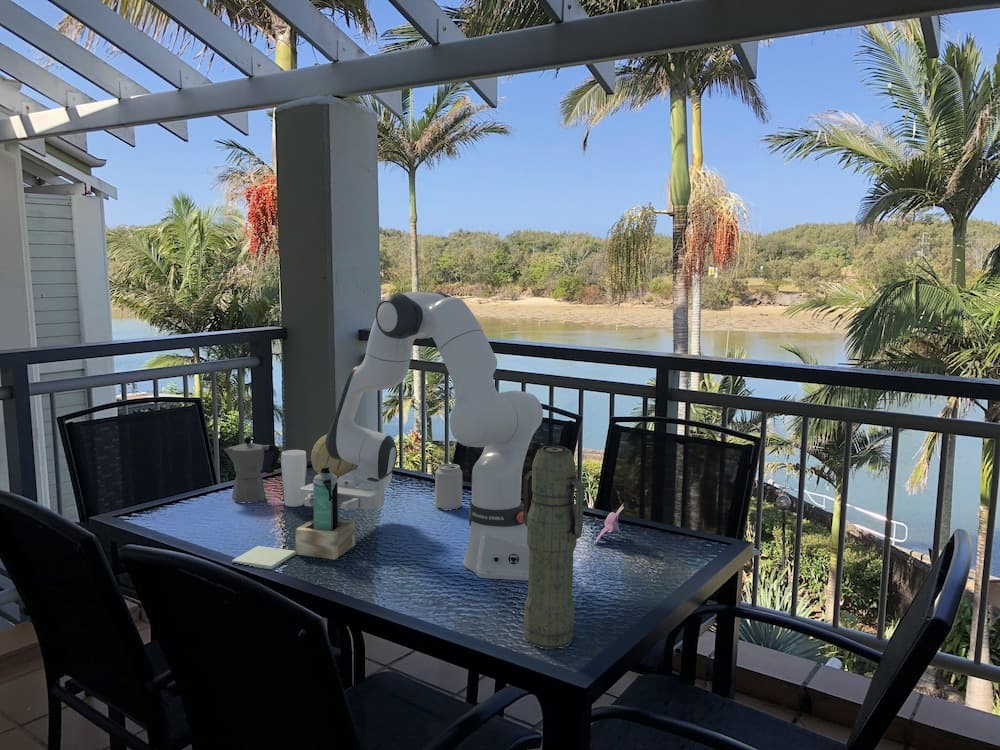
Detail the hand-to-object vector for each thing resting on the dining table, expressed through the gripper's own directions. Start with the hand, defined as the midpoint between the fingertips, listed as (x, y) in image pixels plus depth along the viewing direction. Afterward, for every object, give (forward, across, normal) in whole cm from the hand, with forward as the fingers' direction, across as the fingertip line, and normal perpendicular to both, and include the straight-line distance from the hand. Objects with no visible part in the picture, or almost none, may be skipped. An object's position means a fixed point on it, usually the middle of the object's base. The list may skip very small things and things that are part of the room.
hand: (324, 504), depth 184 cm
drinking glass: (-29, -26, +11) cm, 41 cm away
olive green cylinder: (+26, +60, +11) cm, 67 cm away
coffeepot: (-30, -40, +11) cm, 52 cm away
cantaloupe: (-58, -29, +11) cm, 66 cm away
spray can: (0, 0, +11) cm, 11 cm away
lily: (-30, +62, +11) cm, 70 cm away
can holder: (0, 0, +11) cm, 11 cm away
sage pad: (+10, -10, +11) cm, 18 cm away
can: (-42, +15, +11) cm, 46 cm away
